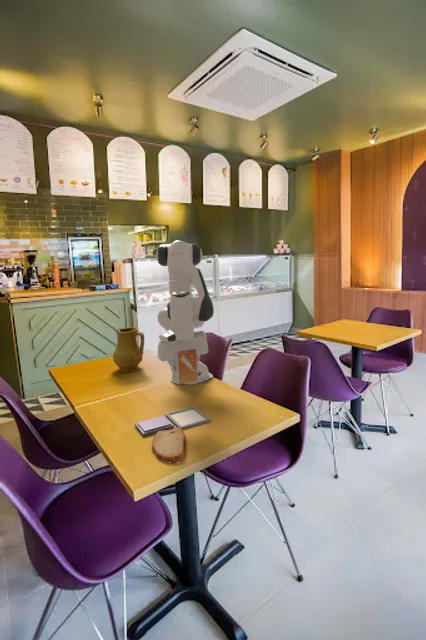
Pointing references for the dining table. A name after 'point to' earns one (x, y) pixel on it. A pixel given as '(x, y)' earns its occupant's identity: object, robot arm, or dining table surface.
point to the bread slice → (169, 445)
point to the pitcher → (128, 349)
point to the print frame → (187, 417)
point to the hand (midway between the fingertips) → (184, 368)
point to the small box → (185, 366)
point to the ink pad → (153, 425)
